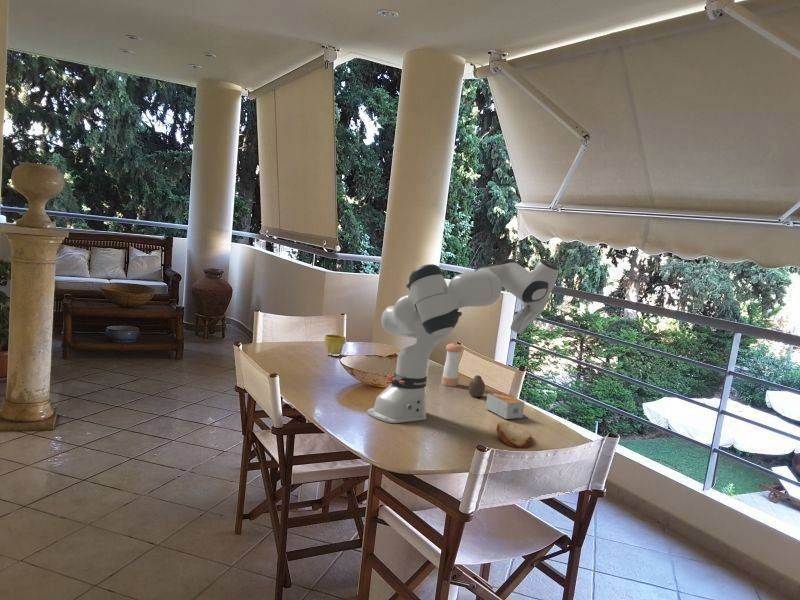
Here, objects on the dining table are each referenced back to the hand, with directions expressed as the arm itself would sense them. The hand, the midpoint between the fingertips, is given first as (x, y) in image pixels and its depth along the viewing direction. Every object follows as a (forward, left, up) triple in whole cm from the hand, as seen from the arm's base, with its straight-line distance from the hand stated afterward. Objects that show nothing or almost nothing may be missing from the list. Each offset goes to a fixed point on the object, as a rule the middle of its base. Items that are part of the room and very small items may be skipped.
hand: (520, 332), depth 220 cm
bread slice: (-17, -12, -34) cm, 40 cm away
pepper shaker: (+16, +43, -33) cm, 57 cm away
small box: (+1, -2, -29) cm, 30 cm away
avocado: (+12, +25, -33) cm, 44 cm away
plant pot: (0, +106, -33) cm, 112 cm away
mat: (+6, +5, -33) cm, 34 cm away
